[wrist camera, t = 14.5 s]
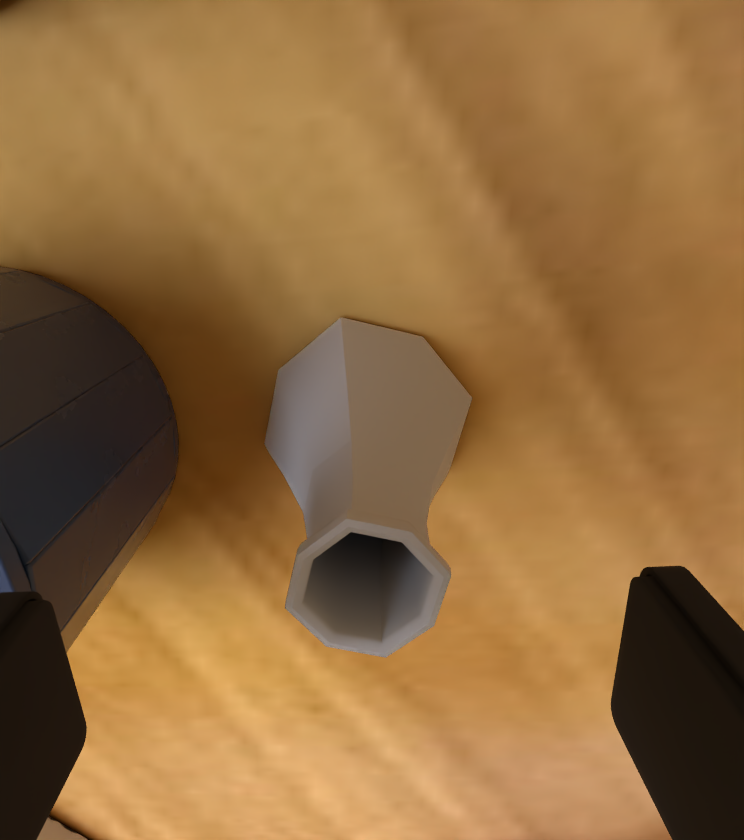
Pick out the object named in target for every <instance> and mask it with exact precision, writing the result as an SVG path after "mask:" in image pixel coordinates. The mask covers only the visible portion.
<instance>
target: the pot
mask: <svg viewBox="0 0 744 840" xmlns="http://www.w3.org/2000/svg"><path fill="white" fill-rule="evenodd" d="M178 445H179V440H178V431H177V423H176V418H175V414H174V410H173V406H172V403H171V400H170V397H169V395H168V392H167V390H166V387H165V385H164V382H163V380H162V379H161V377H160V375H159V373H158V371H157V369H156V368H155V366H154V364H153V362H152V361H151V359H150V358H149V357H148V355H147V354H146V353H145V351H144V350H143V348H142V347H141V346H140V344H139V343H138V342H137V341H136V340H135V339H134V338H133V336H132V335H131V334H130V333H129V332H128V331H127V330H126V329H125V328H124V327H123V326H122V325H121V324H120V323H119V322H118V321H117V320H115V319H114V318H113V317H112V316H111V315H110V314H109V313H107V312H106V311H105V310H104V309H102V308H101V307H99V306H98V305H96V304H95V303H94V302H92V301H91V300H89V299H88V298H86V297H85V296H83V295H81V294H79V293H78V292H76V291H74V290H72V289H70V288H68V287H67V286H65V285H63V284H60V283H58V282H55V281H53V280H50V279H48V278H45V277H43V276H40V275H37V274H33V273H29V272H25V271H22V270H18V269H12V268H5V267H0V520H1V522H2V524H3V525H4V527H5V529H6V531H7V533H8V534H9V536H10V538H11V540H12V542H13V544H14V545H15V547H16V550H17V552H18V555H19V557H20V560H21V562H22V565H23V567H24V570H25V572H26V575H27V578H28V580H29V583H30V587H31V591H35V592H38V593H39V594H40V595H41V596H42V598H43V600H47V601H50V602H51V603H52V605H53V608H54V611H55V615H56V618H57V622H58V625H59V629H60V632H61V636H62V640H63V643H64V647H65V650H66V653H67V651H68V650H69V648H70V647H71V645H72V644H73V642H74V641H75V639H76V638H77V637H78V635H79V634H80V632H81V631H82V629H83V628H84V626H85V625H86V623H87V622H88V620H89V619H90V618H91V616H92V615H93V613H94V612H95V610H96V609H97V607H98V606H99V604H100V603H101V601H102V600H103V599H104V597H105V596H106V594H107V593H108V591H109V590H110V588H111V587H112V585H113V584H114V582H115V581H116V579H117V578H118V577H119V575H120V574H121V572H122V571H123V569H124V568H125V566H126V565H127V563H128V562H129V560H130V559H131V558H132V556H133V555H134V553H135V552H136V550H137V549H138V547H139V546H140V544H141V543H142V541H143V540H144V538H145V537H146V536H147V534H148V533H149V531H150V530H151V528H152V527H153V525H154V524H155V522H156V520H157V517H158V515H159V513H160V510H161V509H162V507H163V505H164V503H165V501H166V499H167V497H168V495H169V493H170V490H171V488H172V485H173V482H174V479H175V474H176V469H177V463H178Z"/></svg>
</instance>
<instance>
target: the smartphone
mask: <svg viewBox="0 0 744 840" xmlns="http://www.w3.org/2000/svg"><path fill="white" fill-rule="evenodd" d="M37 840H88V839H86V838H85V837H83V836H81V835H80V834H78V833H76V832H75V831H73V830H71V829H70V828H68V827H66V826H64V825H63V824H61V823H59V822H58V821H56V820H54V819H53V818H51V817H49V816H48V818H47V820H46V822H45V824H44V826H43V828H42V830H41V832H40V834H39V836H38V838H37Z"/></svg>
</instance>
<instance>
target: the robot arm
mask: <svg viewBox="0 0 744 840" xmlns="http://www.w3.org/2000/svg"><path fill="white" fill-rule="evenodd" d="M611 711H612V716H613V719H614V723H615V725H616V727H617V729H618V731H619V733H620V735H621V737H622V739H623V741H624V743H625V745H626V747H627V749H628V751H629V753H630V756H631V758H632V760H633V762H634V764H635V766H636V768H637V770H638V772H639V774H640V776H641V778H642V780H643V782H644V784H645V786H646V788H647V790H648V792H649V794H650V796H651V798H652V800H653V802H654V804H655V806H656V808H657V810H658V812H659V814H660V816H661V818H662V820H663V822H664V824H665V826H666V828H667V830H668V832H669V834H670V836H671V838H672V840H744V631H743V630H742V629H741V628H740V626H739V625H738V624H737V623H736V622H735V621H734V620H733V619H732V618H731V617H730V615H729V614H728V613H727V612H726V611H725V610H724V609H723V608H722V607H721V606H720V604H719V603H718V602H717V601H716V600H715V599H714V598H713V597H712V596H711V595H710V593H709V592H708V591H707V590H706V589H705V588H704V587H703V586H702V585H701V584H700V582H699V581H698V580H697V579H696V578H695V577H694V576H693V575H692V574H691V573H690V571H689V570H687V569H686V568H685V567H682V566H664V567H646V568H644V569H643V570H642V572H641V574H640V577H634V578H633V579H632V580H631V583H630V588H629V594H628V600H627V606H626V612H625V619H624V625H623V631H622V637H621V643H620V649H619V655H618V661H617V667H616V673H615V679H614V686H613V692H612V698H611ZM85 738H86V721H85V718H84V714H83V710H82V707H81V703H80V700H79V696H78V693H77V689H76V686H75V682H74V679H73V675H72V671H71V668H70V664H69V661H68V657H67V654H66V650H65V647H64V643H63V640H62V636H61V632H60V629H59V625H58V622H57V618H56V615H55V611H54V608H53V605H52V603H51V602H50V601H47V600H43V598H42V596H41V595H40V594H39V593H38V592H35V591H27V592H2V593H0V840H37V838H38V836H39V834H40V832H41V830H42V828H43V826H44V824H45V822H46V820H47V818H48V816H49V814H50V812H51V810H52V808H53V806H54V804H55V802H56V800H57V798H58V796H59V794H60V792H61V790H62V788H63V786H64V784H65V782H66V780H67V778H68V776H69V774H70V772H71V770H72V768H73V766H74V764H75V762H76V760H77V758H78V756H79V754H80V752H81V750H82V748H83V746H84V742H85Z"/></svg>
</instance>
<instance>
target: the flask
mask: <svg viewBox="0 0 744 840" xmlns="http://www.w3.org/2000/svg"><path fill="white" fill-rule="evenodd" d="M471 401H472V397H471V396H470V395H469V393H468V392H467V391H466V390H465V388H464V387H463V386H462V385H461V383H460V382H459V381H458V380H457V378H456V377H455V376H454V375H453V373H452V372H451V371H450V370H449V368H448V367H447V366H446V365H445V363H444V362H443V361H442V360H441V359H440V357H439V356H438V355H437V354H436V352H435V351H434V350H433V349H432V347H431V346H430V345H429V344H428V342H427V341H426V340H425V339H424V337H422V336H418V335H414V334H410V333H405V332H401V331H397V330H393V329H389V328H384V327H380V326H376V325H372V324H368V323H363V322H359V321H355V320H351V319H347V318H342V317H340V318H339V319H338V320H337V321H336V322H335V323H333V324H332V325H331V326H330V327H329V328H327V329H326V330H325V331H324V332H323V333H321V334H320V335H319V336H318V337H317V338H316V339H314V340H313V341H312V342H311V343H310V344H308V345H307V346H306V347H305V348H304V349H302V350H301V351H300V352H299V353H298V354H297V355H295V356H294V357H293V358H292V359H291V360H289V361H288V362H287V363H286V364H285V365H284V366H282V367H281V368H280V369H279V370H278V374H277V379H276V385H275V390H274V395H273V401H272V406H271V411H270V417H269V422H268V427H267V432H266V438H265V443H264V444H265V446H266V448H267V450H268V452H269V454H270V455H271V457H272V458H273V460H274V461H275V463H276V464H277V466H278V467H279V469H280V471H281V472H282V474H283V475H284V477H285V479H286V481H287V483H288V484H289V486H290V488H291V490H292V492H293V494H294V496H295V498H296V500H297V502H298V504H299V506H300V507H301V509H302V511H303V514H304V521H305V527H306V534H307V540H305V541H304V542H302V543H301V545H300V546H299V548H298V550H297V554H296V558H295V563H294V567H293V572H292V576H291V580H290V585H289V589H288V594H287V598H286V604H285V608H286V609H287V610H288V611H289V612H290V613H291V614H292V615H293V616H294V617H295V618H296V619H297V620H298V621H300V622H301V623H302V624H303V625H304V626H305V627H306V628H307V629H308V630H309V631H310V632H311V633H313V634H314V635H315V636H316V637H317V638H318V639H319V640H320V641H321V642H322V643H323V644H324V645H325V646H327V647H332V648H337V649H343V650H348V651H353V652H359V653H364V654H370V655H375V656H381V657H387V656H389V655H390V654H392V653H393V652H395V651H396V650H398V649H400V648H401V647H403V646H404V645H406V644H407V643H409V642H410V641H412V640H413V639H415V638H416V637H418V636H419V635H421V634H422V633H424V632H425V631H427V630H428V629H430V628H431V627H433V626H434V624H435V621H436V618H437V615H438V613H439V610H440V607H441V604H442V601H443V598H444V595H445V592H446V589H447V586H448V583H449V580H450V578H451V568H450V567H449V565H448V564H447V562H446V561H445V560H444V559H443V558H442V557H441V556H440V555H439V553H438V552H437V551H436V550H435V549H434V548H433V547H432V546H431V545H430V542H429V536H428V530H427V517H428V510H429V506H430V504H431V502H432V500H433V498H434V496H435V494H436V492H437V491H438V489H439V488H440V486H441V484H442V483H443V481H444V479H445V478H446V476H447V474H448V472H449V470H450V467H451V464H452V461H453V458H454V454H455V451H456V448H457V445H458V442H459V439H460V436H461V432H462V429H463V426H464V423H465V420H466V417H467V413H468V410H469V407H470V404H471Z"/></svg>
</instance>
